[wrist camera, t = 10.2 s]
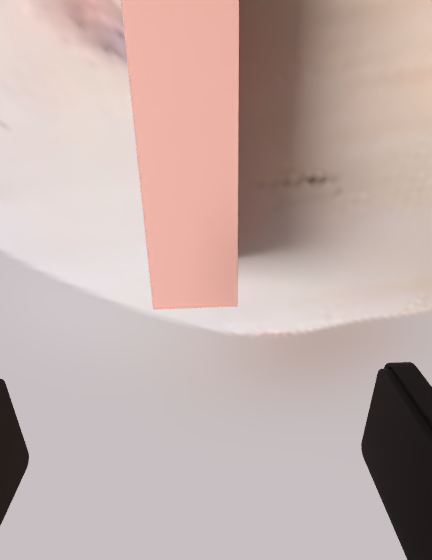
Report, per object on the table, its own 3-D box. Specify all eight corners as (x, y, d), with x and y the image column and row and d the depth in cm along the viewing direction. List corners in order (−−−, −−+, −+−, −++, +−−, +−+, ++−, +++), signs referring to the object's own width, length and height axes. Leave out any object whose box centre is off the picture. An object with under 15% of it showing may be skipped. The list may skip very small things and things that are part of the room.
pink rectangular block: (227, -25, 18) (239, -78, 12) (228, 258, 24) (237, 306, 18) (139, -24, 18) (112, -76, 12) (164, 260, 24) (153, 309, 18)
